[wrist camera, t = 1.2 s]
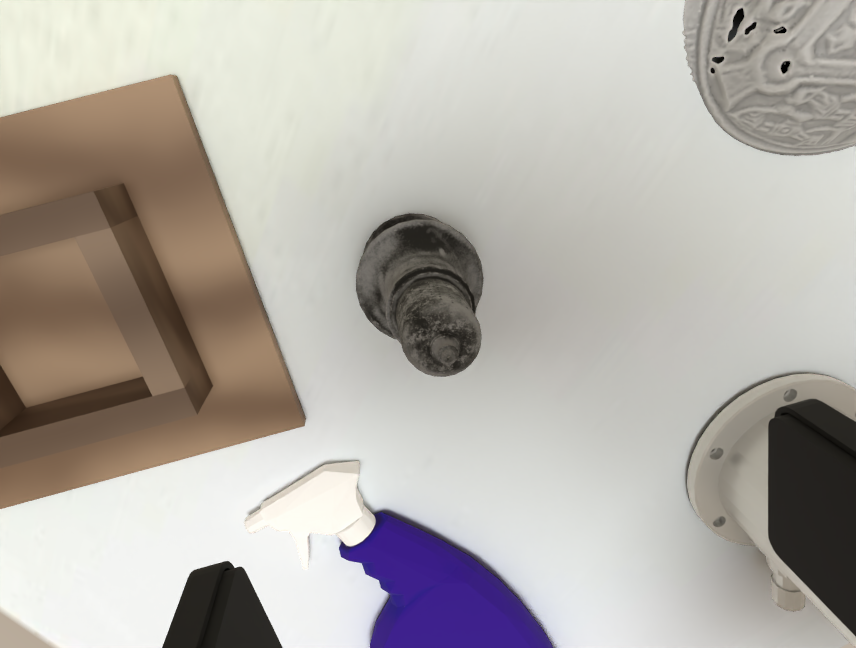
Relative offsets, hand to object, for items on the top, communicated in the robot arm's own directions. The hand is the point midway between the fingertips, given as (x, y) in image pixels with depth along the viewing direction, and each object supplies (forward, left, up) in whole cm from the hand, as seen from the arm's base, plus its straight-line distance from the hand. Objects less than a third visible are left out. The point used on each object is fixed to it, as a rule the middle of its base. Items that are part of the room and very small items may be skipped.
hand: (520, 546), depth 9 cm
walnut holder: (+2, +17, -20) cm, 26 cm away
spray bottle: (-22, +5, -21) cm, 31 cm away
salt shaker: (0, 0, -20) cm, 20 cm away
